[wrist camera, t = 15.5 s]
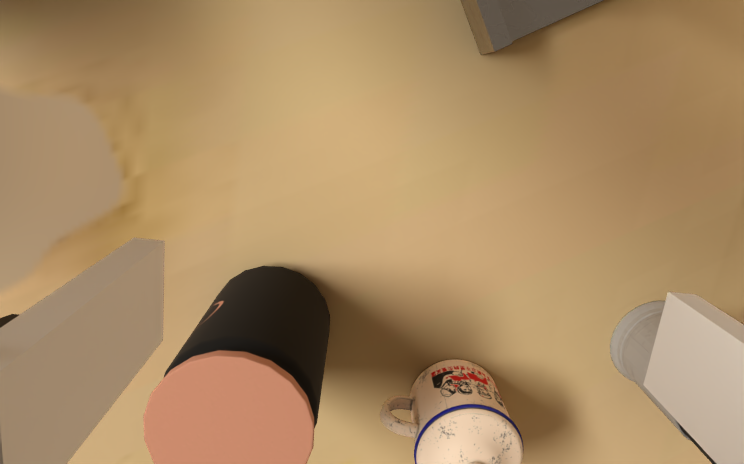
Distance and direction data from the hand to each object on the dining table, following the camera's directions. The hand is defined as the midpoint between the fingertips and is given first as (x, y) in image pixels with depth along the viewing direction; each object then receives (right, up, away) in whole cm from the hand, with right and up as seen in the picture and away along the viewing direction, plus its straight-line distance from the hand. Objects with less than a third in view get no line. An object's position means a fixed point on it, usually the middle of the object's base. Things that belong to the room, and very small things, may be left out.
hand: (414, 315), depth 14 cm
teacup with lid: (+5, -14, +40) cm, 43 cm away
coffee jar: (-10, -6, +38) cm, 39 cm away
